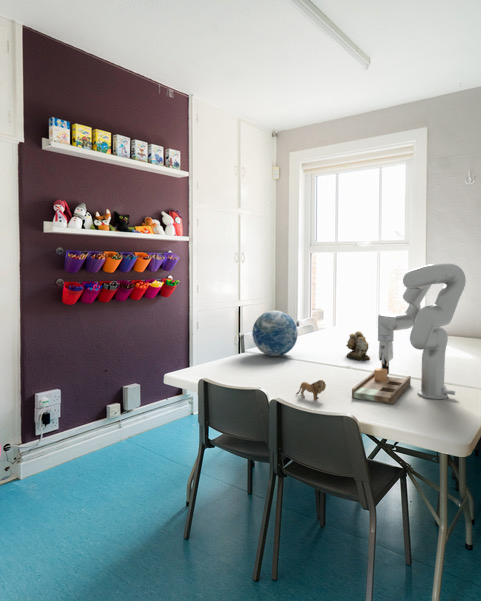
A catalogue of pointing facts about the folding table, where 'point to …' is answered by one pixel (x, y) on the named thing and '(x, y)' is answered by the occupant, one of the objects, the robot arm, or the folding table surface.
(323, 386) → the lion figurine
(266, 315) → the globe
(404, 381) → the box
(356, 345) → the brown lumpy sculpture
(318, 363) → the folding table surface
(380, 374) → the block
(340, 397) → the folding table surface
